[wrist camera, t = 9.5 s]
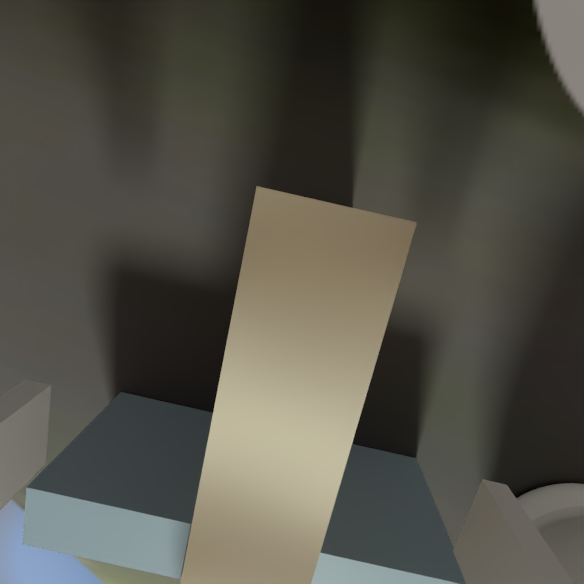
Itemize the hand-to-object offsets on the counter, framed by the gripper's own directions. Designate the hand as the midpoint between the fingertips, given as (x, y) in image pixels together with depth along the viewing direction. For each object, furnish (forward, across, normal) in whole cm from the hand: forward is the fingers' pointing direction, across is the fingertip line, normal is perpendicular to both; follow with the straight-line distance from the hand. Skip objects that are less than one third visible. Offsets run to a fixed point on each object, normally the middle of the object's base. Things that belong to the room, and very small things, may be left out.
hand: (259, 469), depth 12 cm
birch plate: (+8, 0, -1) cm, 8 cm away
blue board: (+8, 0, -5) cm, 10 cm away
